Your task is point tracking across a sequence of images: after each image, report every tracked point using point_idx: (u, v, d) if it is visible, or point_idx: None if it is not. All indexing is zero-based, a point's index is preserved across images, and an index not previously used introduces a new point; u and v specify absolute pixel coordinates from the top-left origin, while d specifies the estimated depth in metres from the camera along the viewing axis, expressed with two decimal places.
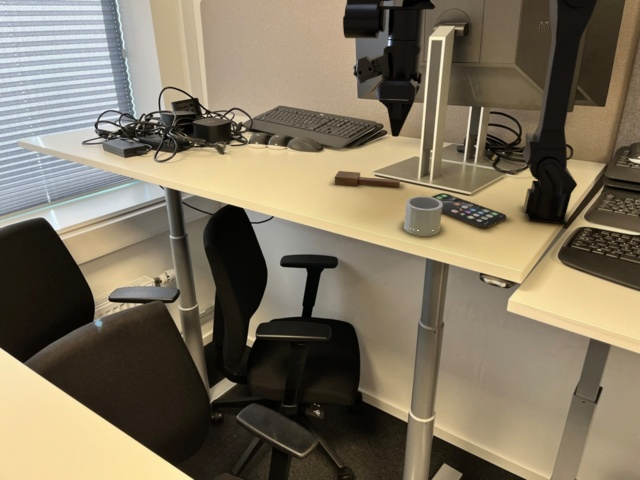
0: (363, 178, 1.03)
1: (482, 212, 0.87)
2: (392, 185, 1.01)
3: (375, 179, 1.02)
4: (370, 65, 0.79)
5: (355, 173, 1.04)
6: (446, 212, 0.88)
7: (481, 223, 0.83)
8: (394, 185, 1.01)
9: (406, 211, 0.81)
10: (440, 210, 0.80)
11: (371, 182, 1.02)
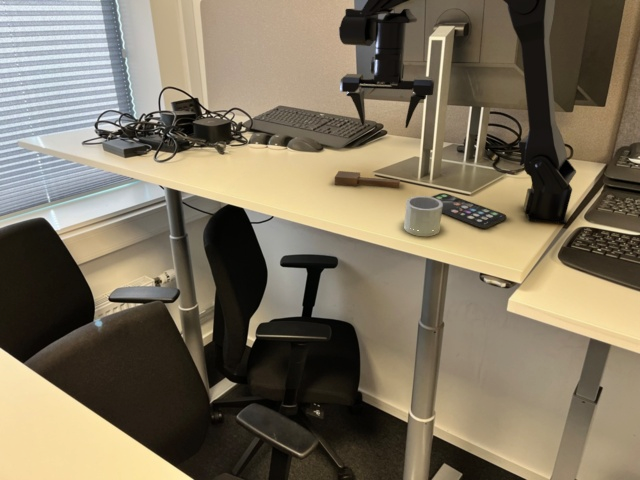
0: (363, 178, 1.03)
1: (482, 212, 0.87)
2: (392, 185, 1.01)
3: (375, 179, 1.02)
4: None
5: (355, 173, 1.04)
6: (446, 212, 0.88)
7: (481, 223, 0.83)
8: (394, 185, 1.01)
9: (406, 211, 0.81)
10: (440, 210, 0.80)
11: (371, 182, 1.02)
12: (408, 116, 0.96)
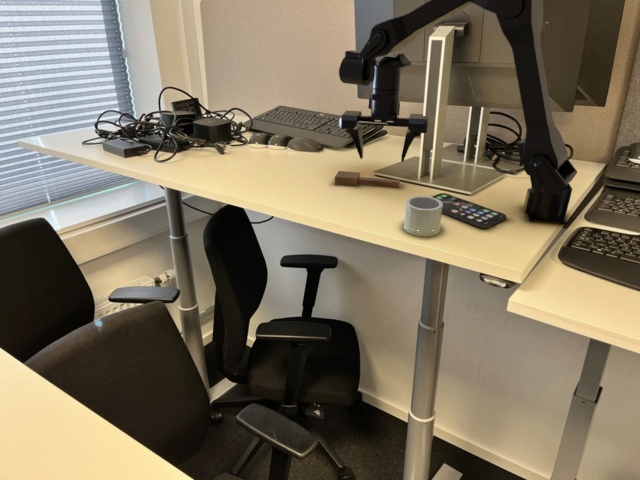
0: (363, 178, 1.03)
1: (482, 212, 0.87)
2: (392, 185, 1.01)
3: (375, 179, 1.02)
4: None
5: (355, 173, 1.04)
6: (446, 212, 0.88)
7: (481, 223, 0.83)
8: (394, 185, 1.01)
9: (406, 211, 0.81)
10: (440, 210, 0.80)
11: (371, 182, 1.02)
12: (404, 151, 1.02)
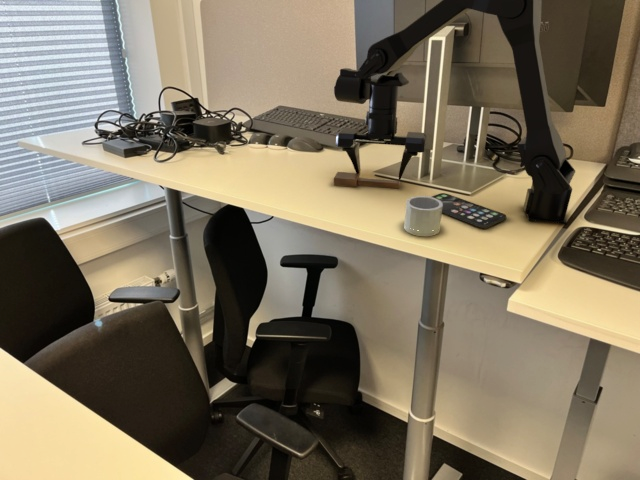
0: (362, 179, 1.02)
1: (482, 212, 0.87)
2: (391, 186, 1.00)
3: (374, 180, 1.02)
4: None
5: (355, 174, 1.03)
6: (446, 212, 0.88)
7: (481, 223, 0.83)
8: (393, 186, 1.00)
9: (406, 211, 0.81)
10: (440, 210, 0.80)
11: (370, 183, 1.01)
12: (401, 170, 1.00)
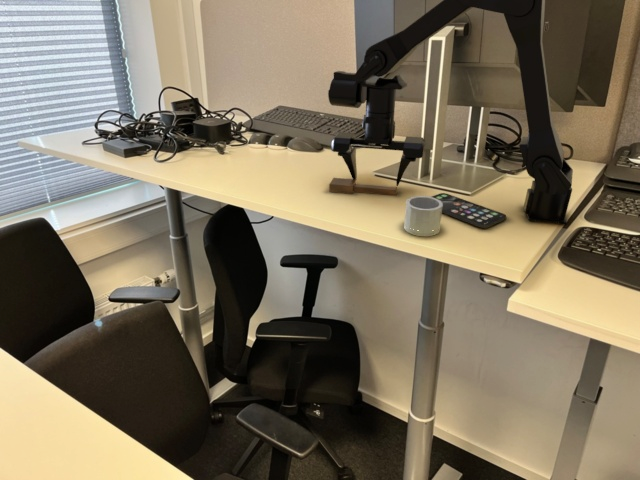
0: (359, 185, 0.99)
1: (482, 212, 0.87)
2: (389, 192, 0.97)
3: (371, 186, 0.98)
4: None
5: (351, 180, 1.00)
6: (446, 212, 0.88)
7: (481, 223, 0.83)
8: (391, 192, 0.97)
9: (406, 211, 0.81)
10: (440, 210, 0.80)
11: (367, 189, 0.98)
12: (399, 176, 0.97)
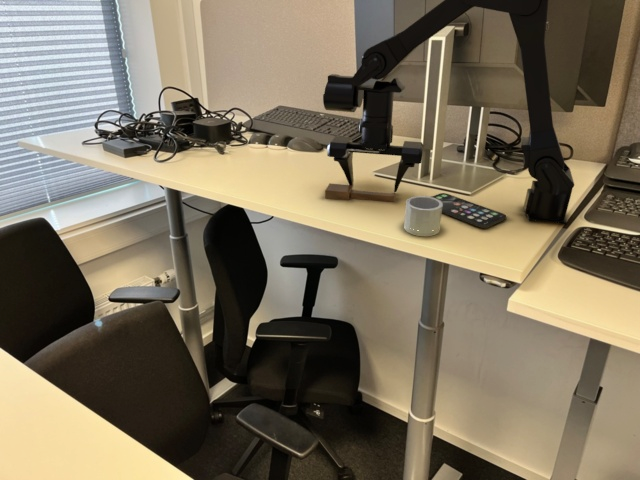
0: (355, 191, 0.96)
1: (482, 212, 0.87)
2: (386, 199, 0.94)
3: (368, 192, 0.95)
4: (359, 126, 0.97)
5: (347, 186, 0.97)
6: (446, 212, 0.88)
7: (481, 223, 0.83)
8: (389, 199, 0.94)
9: (406, 211, 0.81)
10: (440, 210, 0.80)
11: (364, 196, 0.95)
12: (397, 182, 0.94)
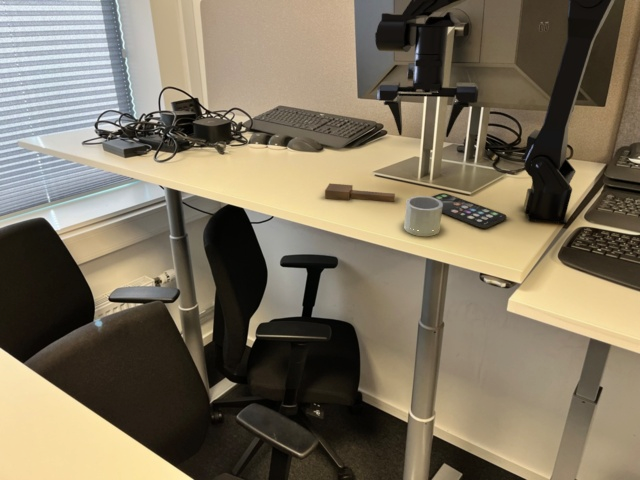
0: (355, 191, 0.96)
1: (482, 212, 0.87)
2: (386, 199, 0.94)
3: (368, 192, 0.95)
4: None
5: (347, 186, 0.97)
6: (446, 212, 0.88)
7: (481, 223, 0.83)
8: (389, 199, 0.94)
9: (406, 211, 0.81)
10: (440, 210, 0.80)
11: (364, 196, 0.95)
12: (449, 125, 0.91)
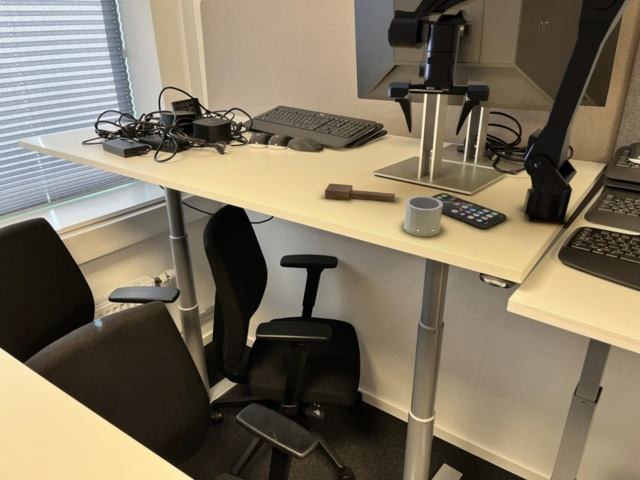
0: (355, 191, 0.96)
1: (482, 212, 0.87)
2: (386, 199, 0.94)
3: (368, 192, 0.95)
4: None
5: (347, 186, 0.97)
6: (446, 212, 0.88)
7: (481, 223, 0.83)
8: (389, 199, 0.94)
9: (406, 211, 0.81)
10: (440, 210, 0.80)
11: (364, 196, 0.95)
12: (460, 123, 0.91)
